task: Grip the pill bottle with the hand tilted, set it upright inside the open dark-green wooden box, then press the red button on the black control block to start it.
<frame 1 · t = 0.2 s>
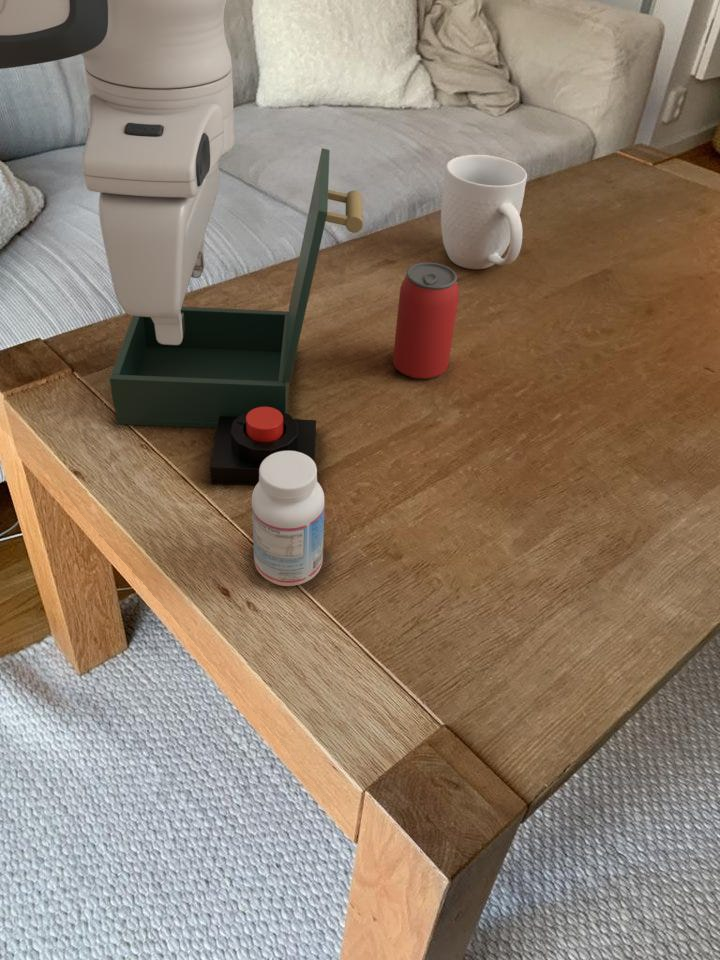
hand: (182, 304, 62), 22 cm above the table, tool pointing down, fingers open, 8 cm apart
beer can: (419, 367, 97), on the table
control block: (265, 459, 83), on the table
box: (210, 387, 92), on the table
start button: (264, 424, 80), point 4 cm above the table, slide at 0.1 cm
mug: (475, 263, 118), on the table
pill bottle: (288, 564, 73), on the table
box lid: (324, 270, 82), point 15 cm above the table, hinge at 100.0°
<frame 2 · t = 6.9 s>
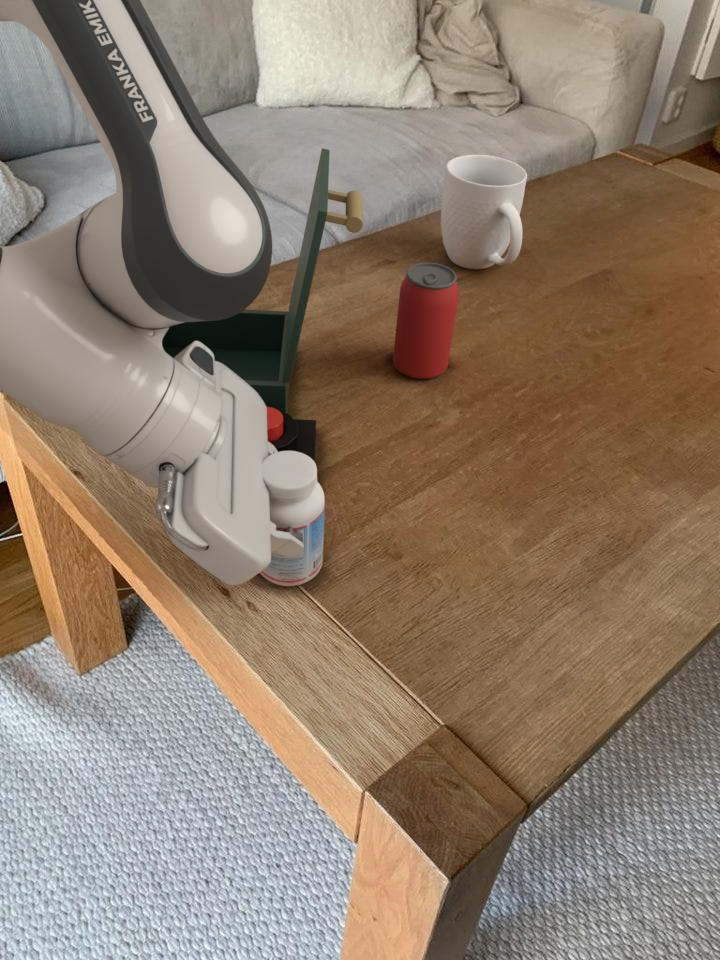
hand: (296, 515, 69), 6 cm above the table, tool tilted 45°, fingers closed on pill bottle, 6 cm apart
pill bottle: (288, 564, 73), on the table, touching gripper
everything else where it was.
when the fingers open (7 cm above the table, at t = 17.2 s): pill bottle stays where it is, resting on box.
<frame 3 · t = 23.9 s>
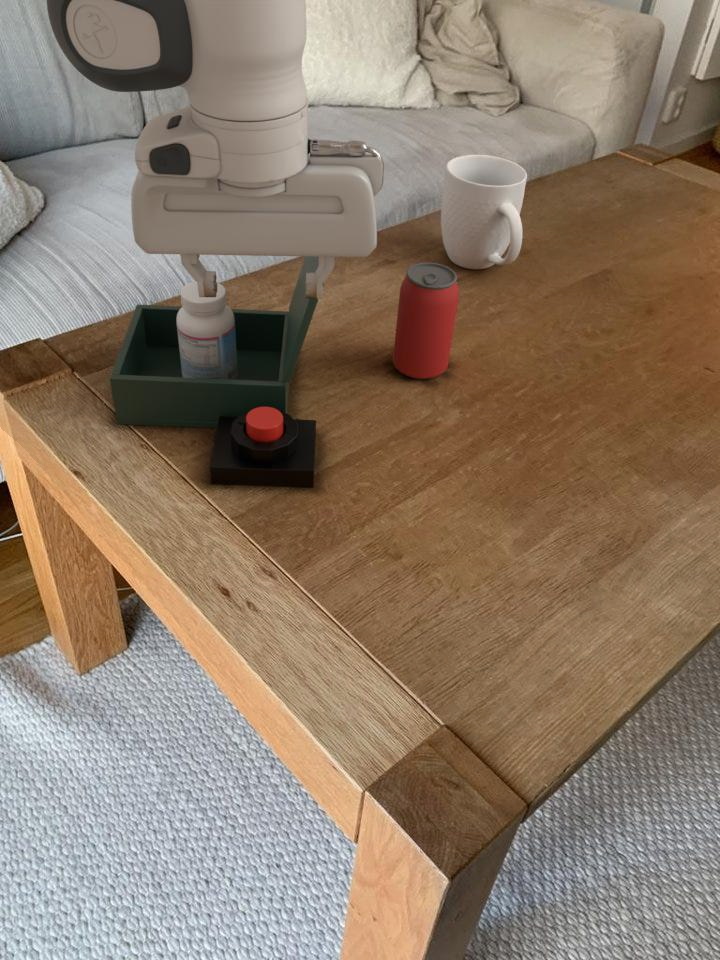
hand: (261, 294, 73), 17 cm above the table, tool pointing down, fingers open, 8 cm apart
pill bottle: (210, 382, 91), point 1 cm above the table, touching box
box lid: (331, 274, 82), point 15 cm above the table, hinge at 105.3°
everything else where it was.
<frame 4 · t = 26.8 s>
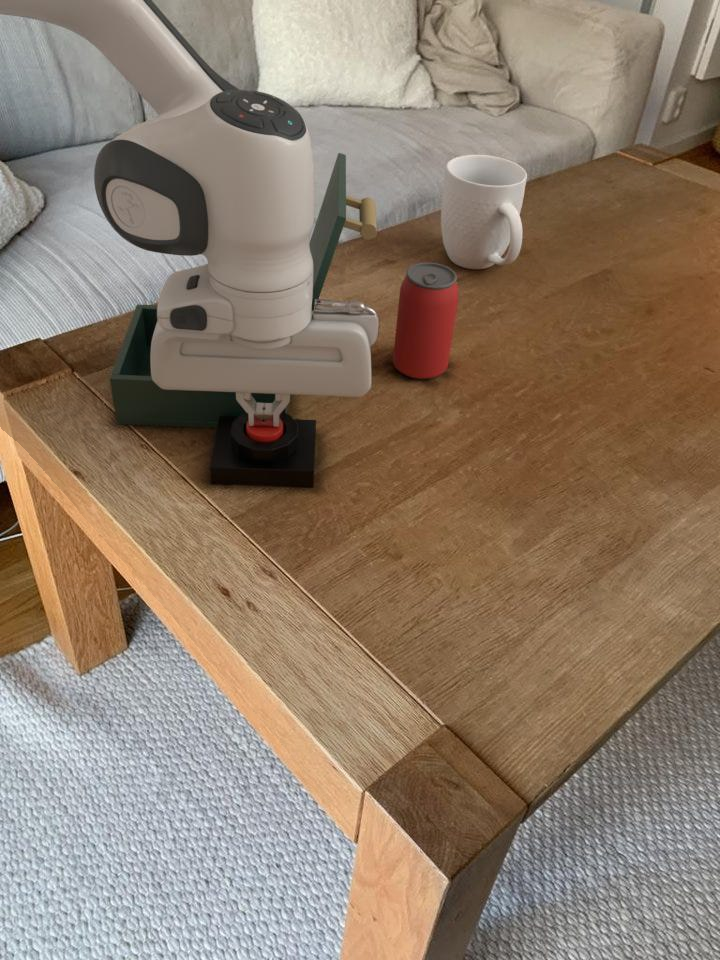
hand: (264, 422, 80), 5 cm above the table, tool pointing down, fingers closed, pressing on start button
start button: (264, 431, 81), point 4 cm above the table, slide at -0.8 cm, touching gripper
everything else where it was.
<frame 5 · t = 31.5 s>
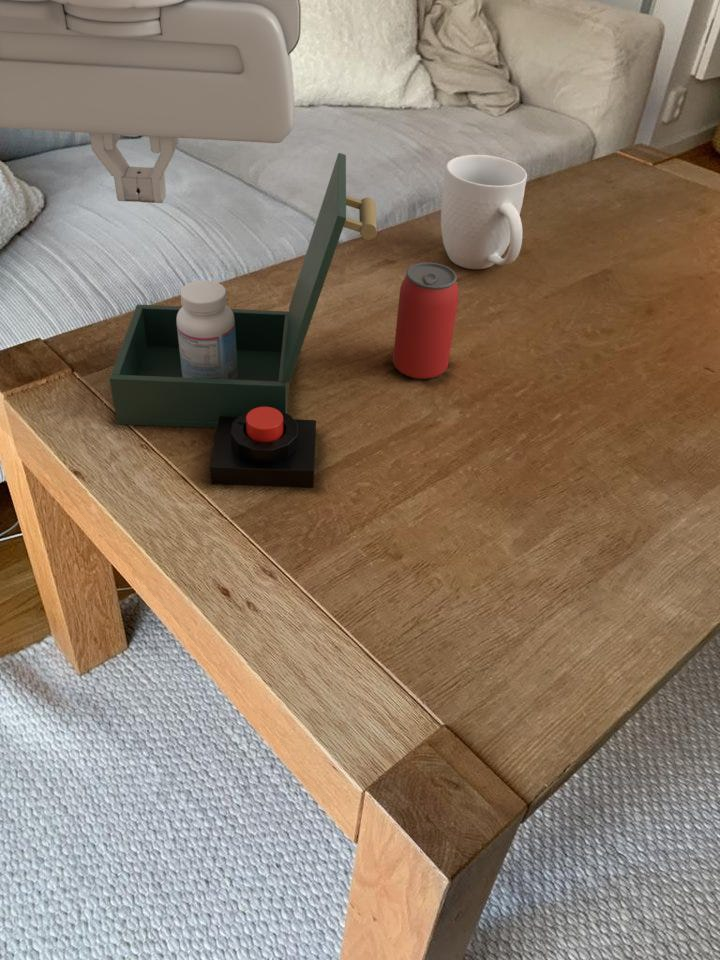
hand: (142, 199, 54), 31 cm above the table, tool pointing down, fingers closed
start button: (264, 424, 80), point 4 cm above the table, slide at 0.1 cm
everything else where it was.
at the end: pill bottle inside the target area in the box (0.1 cm from its centre), point 0.6 cm above the box's base; pill bottle tilted 0°; start button pushed in 1.1 cm at the most during the clip, back to where it started at the end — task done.
